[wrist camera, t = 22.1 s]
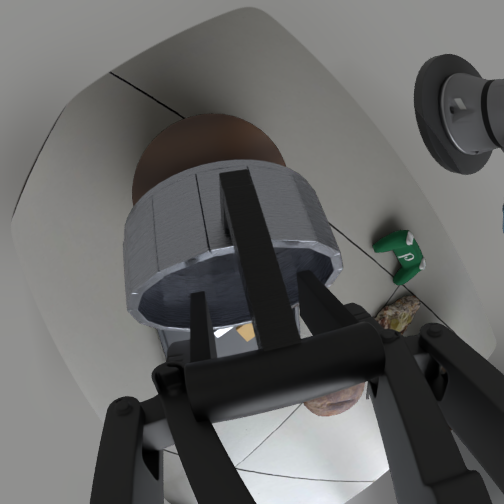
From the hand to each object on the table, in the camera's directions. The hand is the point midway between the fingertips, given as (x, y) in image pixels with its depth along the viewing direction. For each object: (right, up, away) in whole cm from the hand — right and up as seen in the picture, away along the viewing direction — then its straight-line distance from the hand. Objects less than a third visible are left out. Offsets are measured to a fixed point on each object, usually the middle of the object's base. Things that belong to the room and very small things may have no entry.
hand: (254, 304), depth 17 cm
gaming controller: (+22, +3, +29) cm, 37 cm away
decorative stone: (+14, -21, +35) cm, 43 cm away
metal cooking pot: (-2, +5, +5) cm, 8 cm away
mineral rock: (+24, -8, +33) cm, 42 cm away
